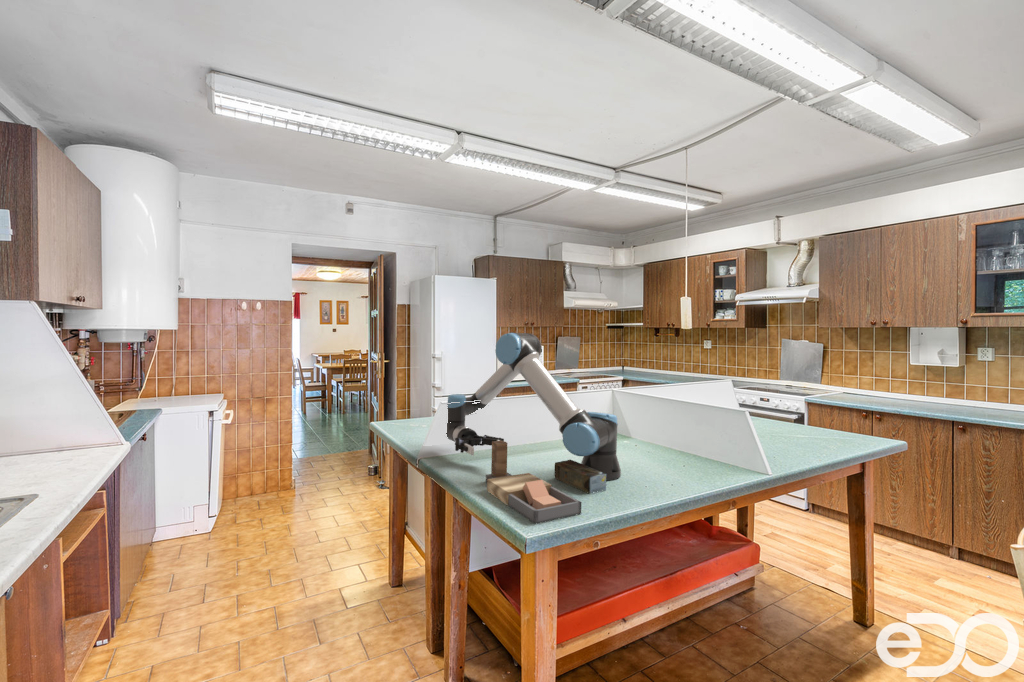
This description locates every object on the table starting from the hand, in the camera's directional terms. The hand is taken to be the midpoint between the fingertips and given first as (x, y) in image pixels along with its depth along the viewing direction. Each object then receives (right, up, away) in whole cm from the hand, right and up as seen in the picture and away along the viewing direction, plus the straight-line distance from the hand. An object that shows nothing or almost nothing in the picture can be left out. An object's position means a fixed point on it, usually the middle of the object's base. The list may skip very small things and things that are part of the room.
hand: (489, 449), depth 172 cm
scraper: (+3, -10, -6) cm, 12 cm away
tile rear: (+15, -8, -25) cm, 31 cm away
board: (+10, -10, -18) cm, 23 cm away
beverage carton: (+32, -11, -6) cm, 34 cm away
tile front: (+18, -7, -32) cm, 38 cm away
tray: (+18, -11, -31) cm, 37 cm away
